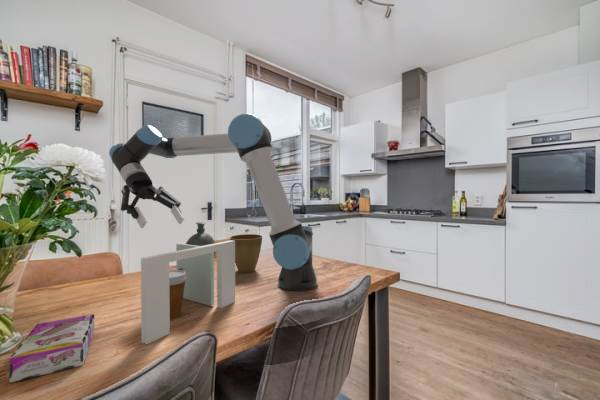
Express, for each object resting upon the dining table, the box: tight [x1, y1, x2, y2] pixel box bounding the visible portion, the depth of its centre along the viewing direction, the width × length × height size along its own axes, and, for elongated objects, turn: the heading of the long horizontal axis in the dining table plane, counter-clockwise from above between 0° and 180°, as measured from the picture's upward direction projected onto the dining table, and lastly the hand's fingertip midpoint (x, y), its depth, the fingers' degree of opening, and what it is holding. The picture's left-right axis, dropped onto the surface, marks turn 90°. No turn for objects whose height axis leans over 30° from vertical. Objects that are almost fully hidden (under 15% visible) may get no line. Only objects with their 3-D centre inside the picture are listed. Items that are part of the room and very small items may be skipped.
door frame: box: [140, 239, 236, 345], centre depth 78 cm, size 30×2×20 cm, turn 151°
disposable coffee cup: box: [169, 269, 187, 320], centre depth 81 cm, size 10×10×12 cm
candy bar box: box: [8, 313, 95, 383], centre depth 61 cm, size 11×5×16 cm
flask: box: [185, 221, 217, 258], centre depth 133 cm, size 12×17×22 cm
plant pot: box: [229, 233, 263, 274], centre depth 128 cm, size 15×15×16 cm
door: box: [175, 242, 215, 307], centre depth 91 cm, size 17×3×18 cm, turn 59°
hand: (164, 223), depth 91 cm, fingers open, 13 cm apart
